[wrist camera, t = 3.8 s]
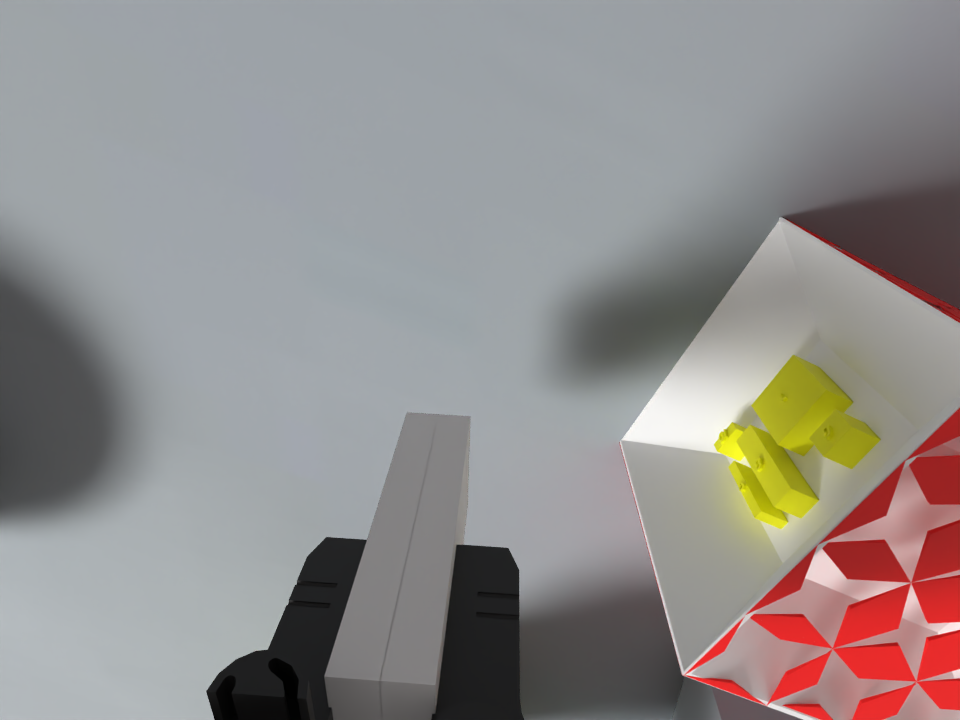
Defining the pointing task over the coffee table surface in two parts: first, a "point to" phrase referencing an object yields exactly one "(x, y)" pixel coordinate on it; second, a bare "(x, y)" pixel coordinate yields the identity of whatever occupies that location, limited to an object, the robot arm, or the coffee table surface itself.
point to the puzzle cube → (811, 489)
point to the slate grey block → (720, 705)
